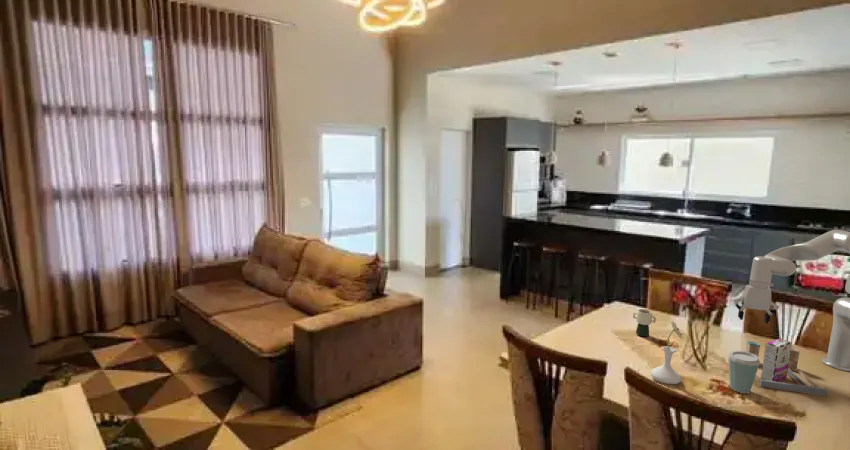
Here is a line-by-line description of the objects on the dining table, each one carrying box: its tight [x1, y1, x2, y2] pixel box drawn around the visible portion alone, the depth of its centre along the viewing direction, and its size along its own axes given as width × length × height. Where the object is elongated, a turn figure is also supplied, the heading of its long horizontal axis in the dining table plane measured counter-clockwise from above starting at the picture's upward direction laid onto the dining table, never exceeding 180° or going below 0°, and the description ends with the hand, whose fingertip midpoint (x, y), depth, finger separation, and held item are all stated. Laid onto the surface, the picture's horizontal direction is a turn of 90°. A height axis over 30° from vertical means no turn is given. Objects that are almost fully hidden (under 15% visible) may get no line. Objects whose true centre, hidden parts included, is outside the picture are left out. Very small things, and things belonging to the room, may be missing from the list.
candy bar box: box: [760, 338, 793, 382], centre depth 194 cm, size 11×5×16 cm, turn 117°
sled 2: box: [788, 347, 822, 388], centre depth 195 cm, size 5×22×9 cm, turn 165°
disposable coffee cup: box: [727, 350, 761, 394], centre depth 183 cm, size 11×11×15 cm
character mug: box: [632, 308, 657, 337], centre depth 237 cm, size 11×7×13 cm, turn 54°
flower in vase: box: [650, 320, 683, 385], centre depth 189 cm, size 13×11×25 cm
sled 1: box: [745, 340, 804, 386], centre depth 198 cm, size 16×22×10 cm
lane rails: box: [759, 369, 829, 397], centre depth 194 cm, size 23×21×2 cm
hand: (753, 320), depth 207 cm, fingers open, 9 cm apart
